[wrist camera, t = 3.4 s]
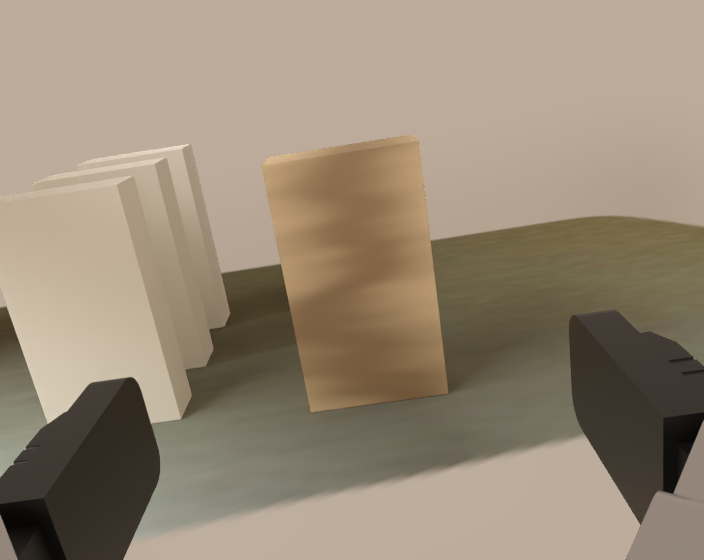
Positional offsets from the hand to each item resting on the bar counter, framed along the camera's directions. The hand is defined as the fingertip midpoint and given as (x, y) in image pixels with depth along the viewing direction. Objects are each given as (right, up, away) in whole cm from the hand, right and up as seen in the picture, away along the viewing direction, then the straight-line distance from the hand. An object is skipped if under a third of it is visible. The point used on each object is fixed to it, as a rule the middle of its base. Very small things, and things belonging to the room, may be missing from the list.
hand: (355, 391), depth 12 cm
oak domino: (+1, -2, +12) cm, 12 cm away
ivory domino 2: (-9, -3, +13) cm, 17 cm away
